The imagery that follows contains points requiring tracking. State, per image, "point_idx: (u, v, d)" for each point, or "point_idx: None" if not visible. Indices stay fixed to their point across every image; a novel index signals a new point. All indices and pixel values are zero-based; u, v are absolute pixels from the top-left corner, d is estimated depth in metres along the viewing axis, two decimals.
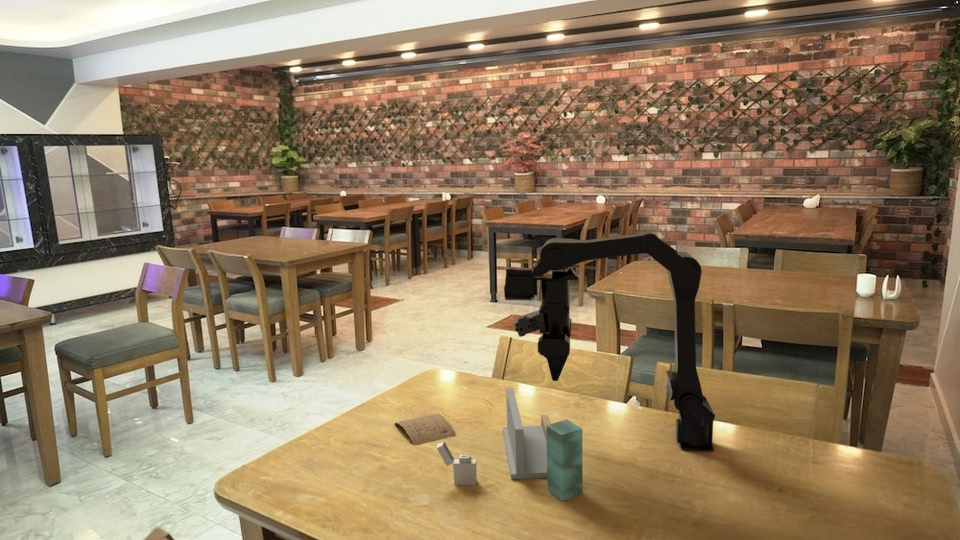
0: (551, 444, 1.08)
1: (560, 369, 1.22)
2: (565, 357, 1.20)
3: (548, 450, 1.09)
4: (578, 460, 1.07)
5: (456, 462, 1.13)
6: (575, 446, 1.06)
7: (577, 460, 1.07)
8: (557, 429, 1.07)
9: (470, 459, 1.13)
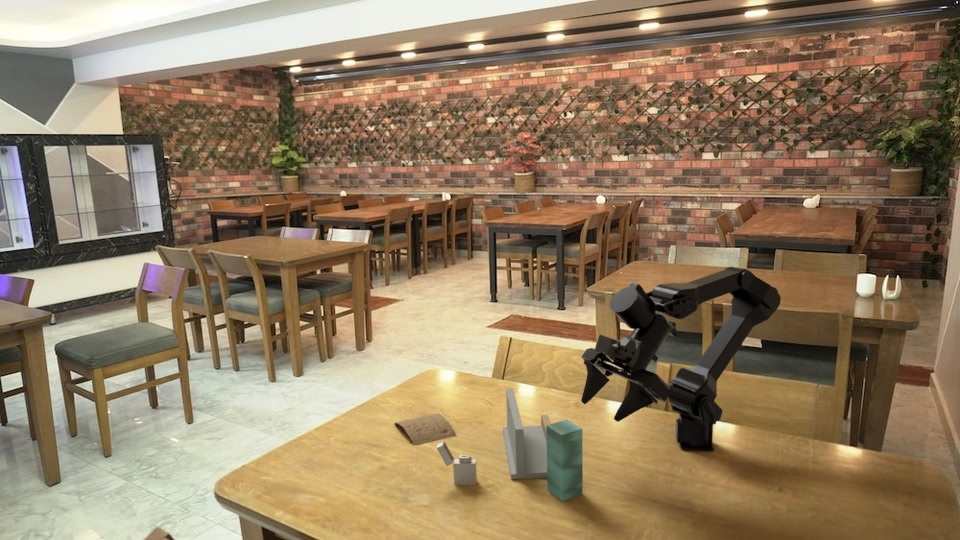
0: (551, 444, 1.08)
1: (631, 412, 1.08)
2: (647, 403, 1.08)
3: (548, 450, 1.09)
4: (578, 460, 1.07)
5: (456, 462, 1.13)
6: (575, 446, 1.06)
7: (577, 460, 1.07)
8: (557, 429, 1.07)
9: (470, 459, 1.13)
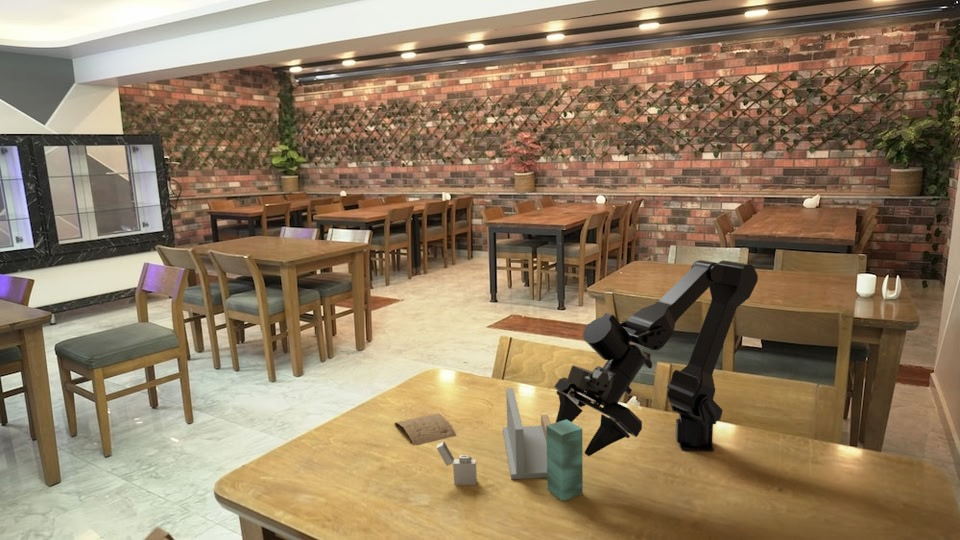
0: (551, 444, 1.08)
1: (603, 446, 1.05)
2: (619, 437, 1.05)
3: (548, 450, 1.09)
4: (578, 460, 1.07)
5: (456, 462, 1.13)
6: (575, 446, 1.06)
7: (577, 460, 1.07)
8: (557, 429, 1.07)
9: (470, 459, 1.13)
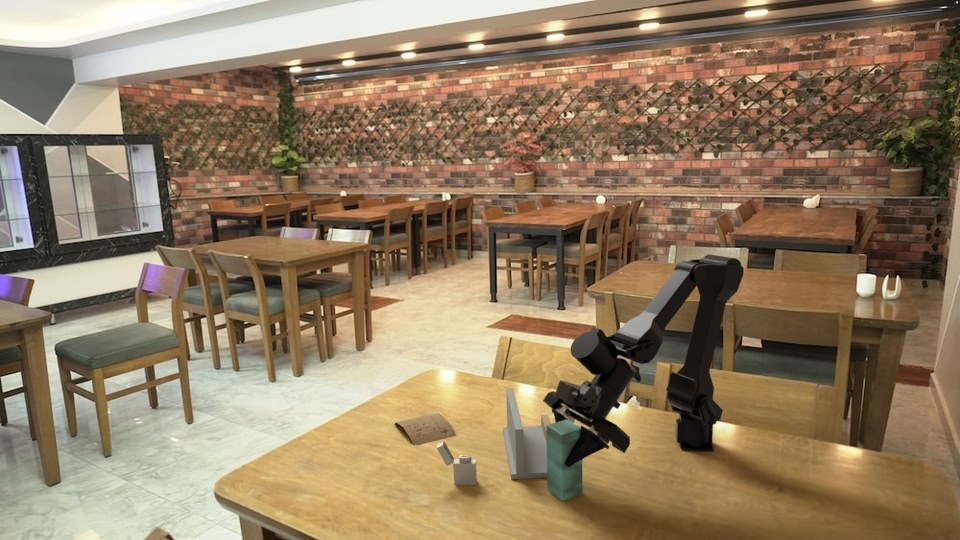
0: (551, 444, 1.08)
1: (582, 457, 1.06)
2: (598, 448, 1.06)
3: (548, 450, 1.09)
4: None
5: (456, 462, 1.13)
6: None
7: None
8: (557, 429, 1.07)
9: (470, 459, 1.13)
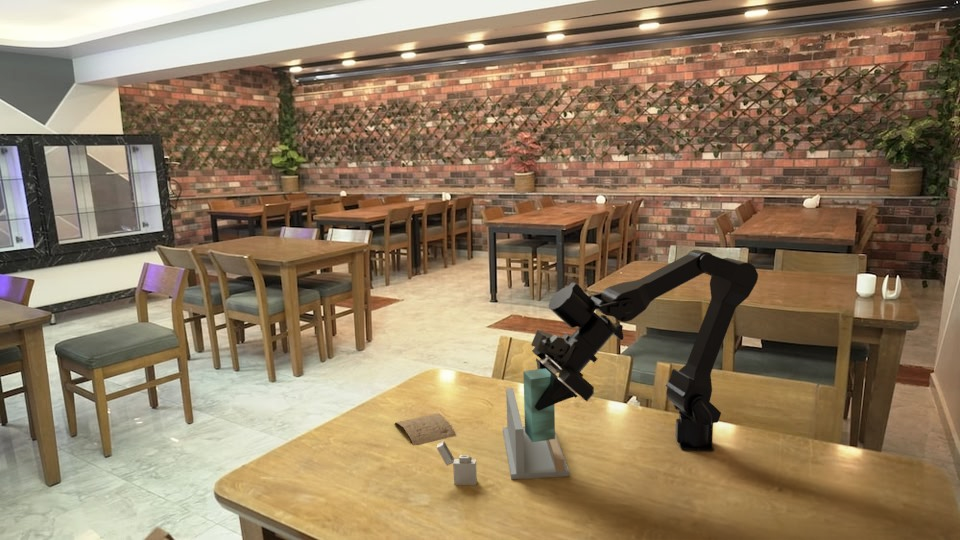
0: (526, 389, 1.15)
1: (552, 403, 1.12)
2: (568, 396, 1.12)
3: (524, 394, 1.17)
4: (549, 406, 1.14)
5: (456, 462, 1.13)
6: None
7: (549, 406, 1.14)
8: (531, 375, 1.14)
9: (470, 459, 1.13)
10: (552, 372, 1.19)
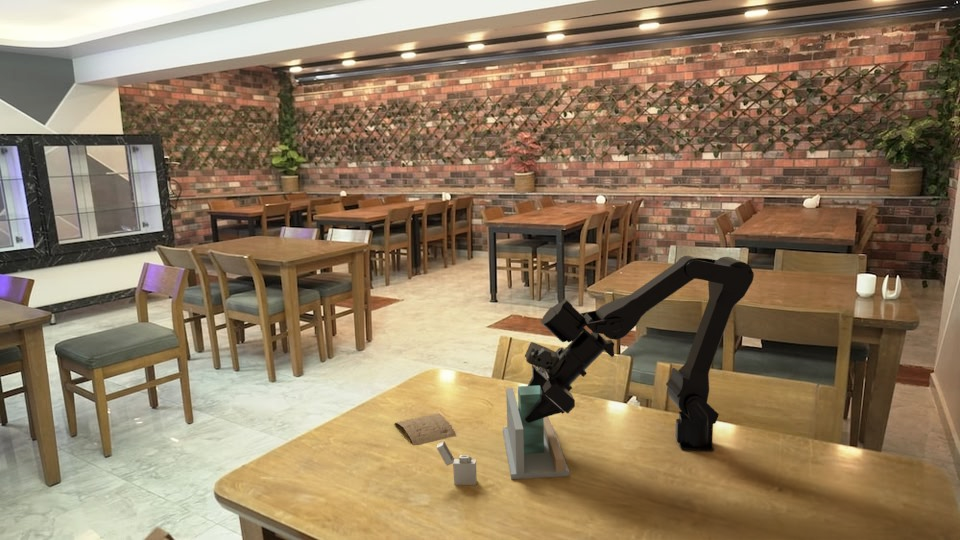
0: None
1: (541, 416, 1.17)
2: (556, 411, 1.16)
3: (518, 408, 1.25)
4: (539, 421, 1.21)
5: (456, 462, 1.13)
6: None
7: (538, 421, 1.21)
8: (522, 391, 1.22)
9: (470, 459, 1.13)
10: (545, 379, 1.27)
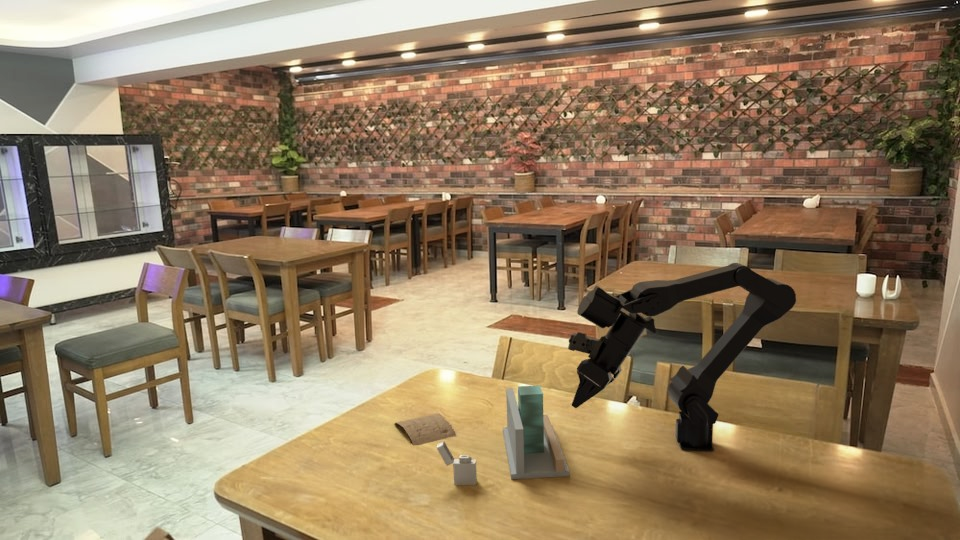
0: None
1: (585, 399, 1.17)
2: (597, 391, 1.16)
3: (518, 408, 1.25)
4: (539, 421, 1.21)
5: (456, 462, 1.13)
6: (535, 408, 1.20)
7: (538, 421, 1.21)
8: (522, 391, 1.22)
9: (470, 459, 1.13)
10: None
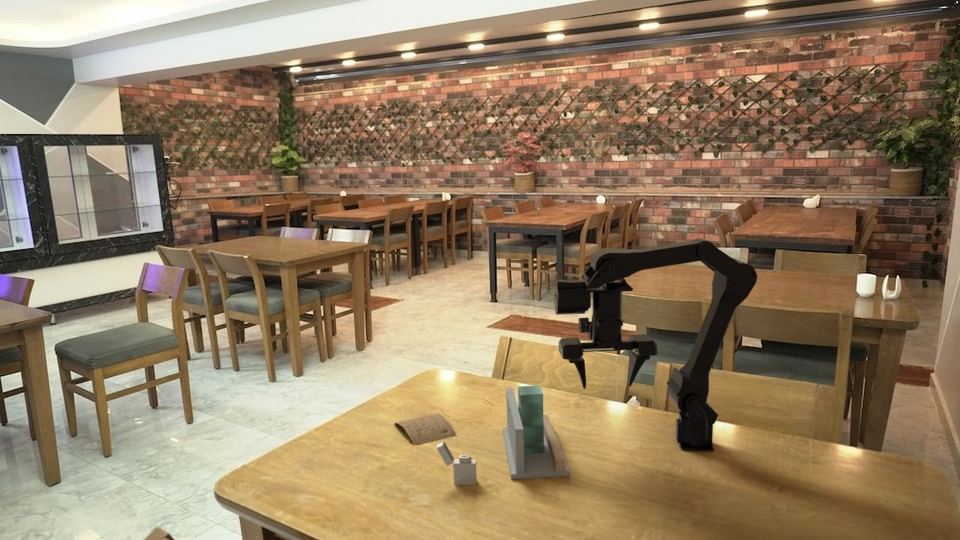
0: None
1: (580, 377, 1.22)
2: None
3: (518, 408, 1.25)
4: (539, 421, 1.21)
5: (456, 462, 1.13)
6: (535, 408, 1.20)
7: (538, 421, 1.21)
8: (522, 391, 1.22)
9: (470, 459, 1.13)
10: (633, 354, 1.22)
